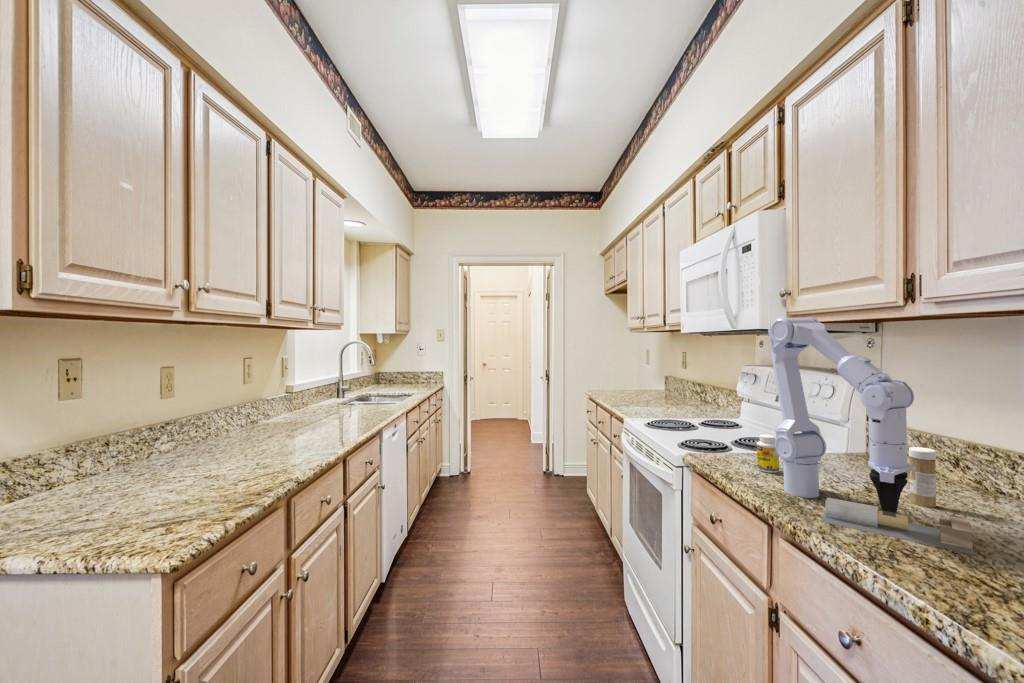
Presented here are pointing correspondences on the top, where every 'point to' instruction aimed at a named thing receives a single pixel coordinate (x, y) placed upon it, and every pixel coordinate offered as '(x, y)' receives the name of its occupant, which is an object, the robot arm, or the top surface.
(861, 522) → the outer sleeve
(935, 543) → the base board
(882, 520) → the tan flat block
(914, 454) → the sprinkles bottle
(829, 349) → the robot arm
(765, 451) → the supplement bottle
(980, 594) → the top surface
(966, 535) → the socket block
